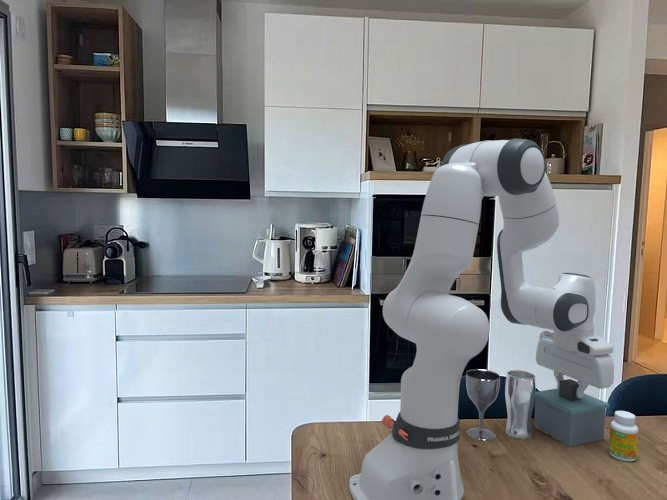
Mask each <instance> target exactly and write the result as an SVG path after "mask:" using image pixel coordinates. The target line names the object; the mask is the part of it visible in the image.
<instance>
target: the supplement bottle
mask: <svg viewBox="0 0 667 500" xmlns="http://www.w3.org/2000/svg"><path fill="white" fill-rule="evenodd" d="M638 439H639V426H637V425H636V415H635V414H633V413H631V412H629V411H625V410H615V411H614V419H613V420H612V421H610V426H609V442H608V453H609V455H610V456H611V457H613V458H614V459H616V460H619V461H624V462H633V461H636V460H637V458H638V457H637V455H638V443H639V442H638V441H639V440H638Z"/></svg>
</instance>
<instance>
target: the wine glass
mask: <svg viewBox="0 0 667 500" xmlns="http://www.w3.org/2000/svg"><path fill="white" fill-rule="evenodd" d="M465 385H466V392H467V395H468V397H469V399H470V400H471V401H472V403H473V405H475V407H476V408H477V410H478V418H479V425H478V427H479V428H478V427H477V426H474V427H475V428H472V427H470V428H471V429H469V428H467V429H468V431H467V434H469V435H470V437H469V438H471V437H472V438H471V439H473V438H474V439H473V440H476V439H477V441H482V440H483V441H485V442H487V441H493V440H495V439H496V438H497V435H496V433H495V432H494V431H492V430H491V429H488V428H484V425H483V424H484V422H483V421H484V416H485V412H486V410H487V409H488V408H489V407H490V406H491V405H492V404H493V403H494V402H495V401H496V400H497V398H498V394H499V391H500V386H501V375H500V374H499V373H497V372H495V371H493V370H489V369H484V368H483V369H479V368H476V369H475V368H474V369H468V370H466V372H465ZM476 427H477V428H476ZM490 430H491V431H490ZM493 432H494V433H495V434H494V433H493ZM467 434H466V435H467Z"/></svg>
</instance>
